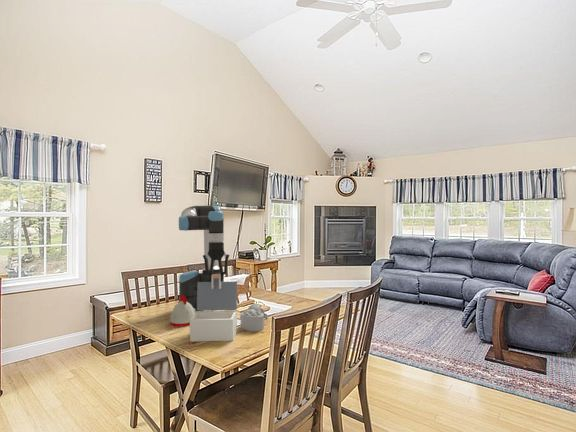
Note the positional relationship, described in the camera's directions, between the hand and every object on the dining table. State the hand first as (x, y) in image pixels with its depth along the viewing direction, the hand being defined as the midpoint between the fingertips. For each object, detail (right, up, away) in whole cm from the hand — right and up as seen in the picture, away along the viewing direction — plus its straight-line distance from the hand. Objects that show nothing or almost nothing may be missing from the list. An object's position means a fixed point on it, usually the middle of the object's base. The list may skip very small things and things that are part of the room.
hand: (216, 288), depth 175 cm
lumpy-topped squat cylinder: (+18, -22, +5) cm, 29 cm away
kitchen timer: (-21, -22, +14) cm, 33 cm away
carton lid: (0, -2, -3) cm, 4 cm away
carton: (0, -22, -7) cm, 23 cm away
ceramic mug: (+20, -21, +19) cm, 35 cm away
